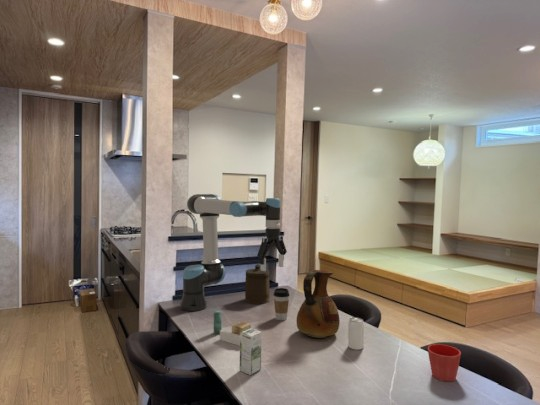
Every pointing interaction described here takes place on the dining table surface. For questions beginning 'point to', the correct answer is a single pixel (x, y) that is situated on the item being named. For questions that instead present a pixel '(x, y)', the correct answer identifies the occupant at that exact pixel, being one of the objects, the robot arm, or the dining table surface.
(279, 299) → the coffee cup
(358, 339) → the can
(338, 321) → the ceramic pitcher
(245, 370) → the syrup box
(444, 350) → the flower pot
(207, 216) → the robot arm
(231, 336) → the rail lane
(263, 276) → the wooden container
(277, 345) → the dining table surface
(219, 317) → the corded oak block
